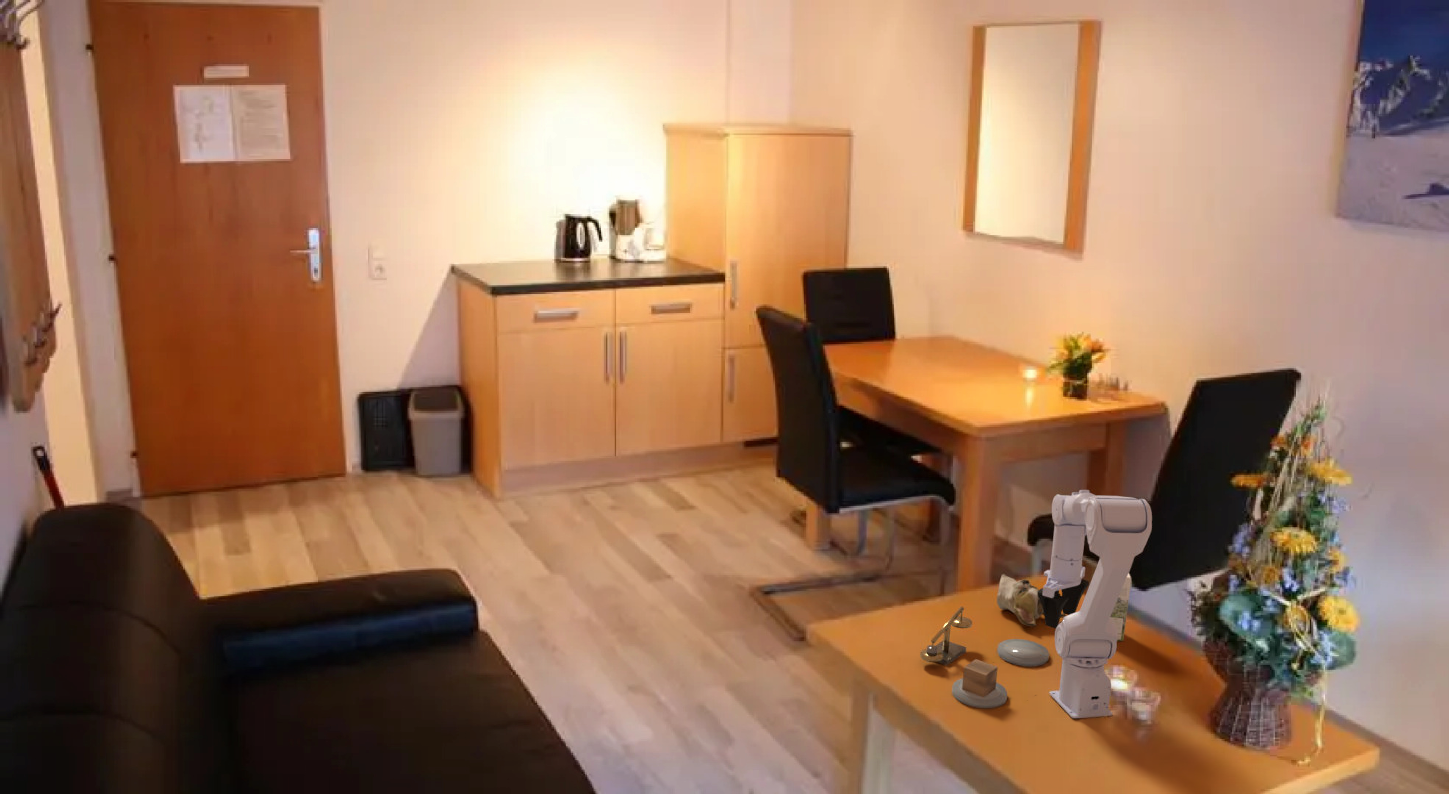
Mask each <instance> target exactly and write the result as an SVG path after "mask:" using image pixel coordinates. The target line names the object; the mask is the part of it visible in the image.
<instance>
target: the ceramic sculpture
mask: <svg viewBox="0 0 1449 794" xmlns="http://www.w3.org/2000/svg"><path fill="white" fill-rule="evenodd" d="M1038 590H1040V589H1039V588H1038V587H1036V586H1034V585H1032V584H1031V582H1030V581H1029V580H1027V579H1021V580H1018V581H1017V580H1016V579H1015V578H1012V577H1010V576H1007V575H1006V574H1005V573H1004V574H1001V577H1000V580H999V584H998V590H997V595H996V604H997V606H998V608H999V609H1001V610H1009V611H1010V612H1012V613H1013V614H1014V615H1015V616H1016V618H1017V620H1018V621H1019V622H1020V623H1021V624H1022V625H1024V626H1027V627H1037V624H1036V623H1037V619H1039V618H1040V617H1042V616H1044V611H1043V607H1042V604H1041V602H1040V599H1039V598H1038V595H1037V594H1038ZM1065 616H1068V615H1067V614H1063V612H1061V616H1060V619H1064V617H1065Z"/></svg>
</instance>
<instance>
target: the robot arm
mask: <svg viewBox="0 0 1449 794" xmlns="http://www.w3.org/2000/svg"><path fill="white" fill-rule="evenodd" d="M1151 508H1152V507H1151V506H1150V504H1149V502H1148V501H1147V500H1146V499H1144V498H1139V499H1138V498H1135V497H1131V496H1121V495H1120V496H1119V495H1096V494H1093V493H1091V492H1090V490H1089V489H1080V490H1078V492H1077V491H1076V492H1075V491H1074V492H1071V495H1066V494H1065V495H1064V494H1063V495H1062V494H1058V493H1057V494H1056V495H1055V496H1054V497H1053V499H1052V503H1051V516H1052V517H1051V518H1052V521H1053V523H1054V527H1053V529H1054V530H1053V539H1052V548H1051V558H1050V567H1049V568H1050V569H1047V570H1045V571H1044V572H1043V576H1044V577H1047V579H1046V583H1045V584H1044V585H1043V587H1042V588H1041V587H1040V589H1039V590H1038V594H1037V595H1038V598H1039V599H1040V602H1041V604H1042V607H1043V611H1044V615H1043V617H1044V623H1045V626H1047V627H1049V628H1052V629H1054V630H1055V631H1054V645H1055V650H1056V653H1057V655H1058V656H1059V657H1060V658H1061V659H1062V662H1061V671H1060V679H1059V680H1060V681H1059V690H1051V691H1049V695H1050V696H1051V697H1052V698H1053V700H1054V701H1056V702H1057V704H1059V705H1060V707H1061V708H1062V709H1063V710H1064V711H1065V712H1066V713H1067V714H1068V715H1069V716H1070V717H1071V718H1072V719H1084V718H1085V719H1086V718H1097V717H1108V716H1109V717H1110V716H1113V712H1112V711H1111V710H1110V709H1109V708H1110V702H1111V699H1110V698H1111V692H1112V683H1111V680H1110V678H1109V676H1108V675H1107V674H1106V671H1105V665H1108V660H1110V659H1113V657H1114V656H1115V654H1116V652H1117V642H1118V641H1117V639H1118V631H1117V627H1116V625H1115V622H1114V620H1113V618H1111V617H1110V616H1111V614H1112V611H1113V609H1114V607H1115V604H1116V602H1117V599H1118V597H1119V595H1120V592H1121V590H1122V587H1123V585H1124V583H1125V580H1126V578H1127V575H1128V573H1129V574H1130V571H1131V568H1132V565H1133V563H1134V559H1135V557H1136V556H1139V554H1142V553H1143V551H1144V549H1145V546H1146V545H1147V542H1148V539H1149V538H1150V535H1151V533H1152V530H1153V529H1152V528H1153V527H1152V526H1153V523H1152V521H1153V515H1152V514H1153V513H1152V509H1151ZM1085 537H1086V538H1087V543H1088V547H1089V552H1091V553H1092V554H1095V555H1096V556H1098V558H1099V560H1098V562H1097V564H1096V565H1097V566H1096V568H1095V570H1094V573H1093V575H1092V578H1091V581H1090V582H1089V581H1088V580H1087V579H1084V577H1085V573H1086V567H1085V566H1083V556H1084V546H1085ZM1060 590H1061V593H1060ZM1086 590H1087V591H1086ZM1085 591H1086V594H1085V596H1084V599H1083V602H1082V604H1081V607H1080V609H1079V610H1078V611H1077V609H1078V606H1079V604H1080V601H1081V598H1082V596H1083V595H1084V593H1085ZM1061 613H1062V614H1065V615H1067V616H1065V617H1064V618H1062V621H1061V622H1060V620H1061V618H1060V616H1061Z"/></svg>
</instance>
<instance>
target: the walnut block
mask: <svg viewBox="0 0 1449 794" xmlns="http://www.w3.org/2000/svg"><path fill="white" fill-rule="evenodd" d="M998 669H999V668H998V666H996V665H993V664H990V663H987V662H985V661H982V660H979V659H977V658H976V659H975V658H974V660H972V661H971V662H969V663H968V664H967V665H965V666H964V667H963V674H962V676H963V677H962V678H963V684H962V689H963V690H965V691H968V692H971V693H973V694H976V695H978V696H981V697H985V696H986V695H988V694H989V693H991V692H992V691H993V690H995V689H996V682H997V676H998Z"/></svg>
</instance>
